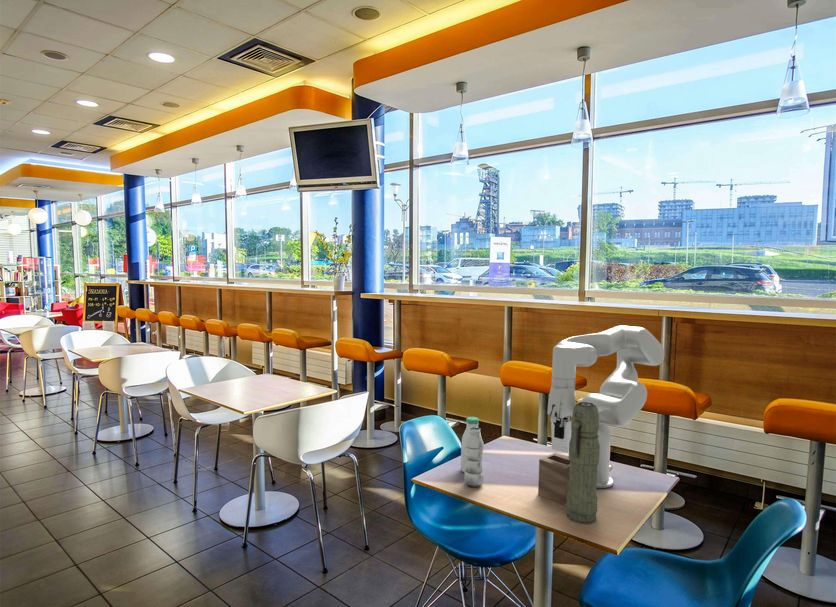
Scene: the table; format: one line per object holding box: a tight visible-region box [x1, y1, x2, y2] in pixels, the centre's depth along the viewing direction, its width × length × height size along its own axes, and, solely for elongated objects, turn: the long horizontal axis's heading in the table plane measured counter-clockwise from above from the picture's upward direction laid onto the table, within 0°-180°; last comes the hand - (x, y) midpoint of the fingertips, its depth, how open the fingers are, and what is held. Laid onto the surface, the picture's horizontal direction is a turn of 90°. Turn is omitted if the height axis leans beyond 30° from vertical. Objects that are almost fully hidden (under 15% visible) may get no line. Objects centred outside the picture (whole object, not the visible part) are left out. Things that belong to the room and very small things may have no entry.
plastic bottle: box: [463, 426, 485, 487], centre depth 177 cm, size 6×7×20 cm
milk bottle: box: [460, 416, 482, 474], centre depth 190 cm, size 8×8×20 cm
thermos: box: [566, 402, 600, 525], centre depth 155 cm, size 9×12×35 cm
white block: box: [550, 419, 572, 454], centre depth 169 cm, size 2×6×10 cm, turn 43°
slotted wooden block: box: [537, 452, 570, 505], centre depth 170 cm, size 10×10×12 cm
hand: (561, 436), depth 169 cm, fingers closed on white block, 2 cm apart
